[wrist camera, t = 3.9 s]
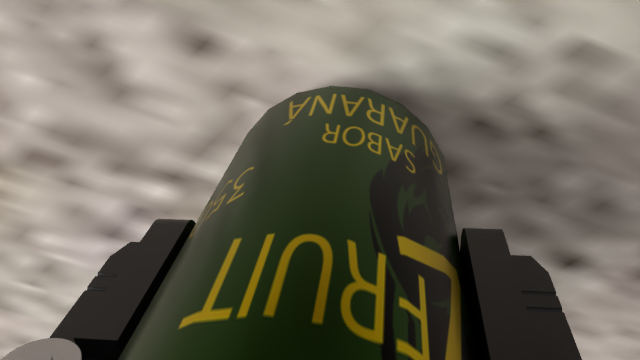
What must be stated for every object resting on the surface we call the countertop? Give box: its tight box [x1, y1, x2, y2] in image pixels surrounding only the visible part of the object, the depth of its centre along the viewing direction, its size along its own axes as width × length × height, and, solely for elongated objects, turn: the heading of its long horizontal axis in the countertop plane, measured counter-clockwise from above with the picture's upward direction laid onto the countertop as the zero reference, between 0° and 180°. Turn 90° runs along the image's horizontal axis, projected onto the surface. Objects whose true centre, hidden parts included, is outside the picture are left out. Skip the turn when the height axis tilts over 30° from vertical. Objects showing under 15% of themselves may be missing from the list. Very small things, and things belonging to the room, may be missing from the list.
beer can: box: [118, 86, 478, 360], centre depth 10 cm, size 5×5×12 cm
